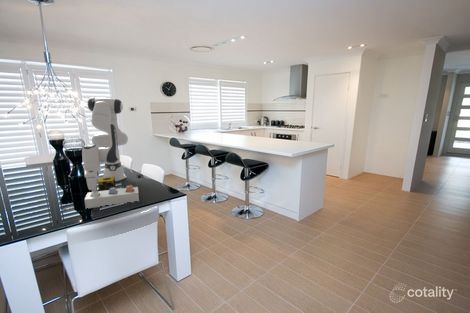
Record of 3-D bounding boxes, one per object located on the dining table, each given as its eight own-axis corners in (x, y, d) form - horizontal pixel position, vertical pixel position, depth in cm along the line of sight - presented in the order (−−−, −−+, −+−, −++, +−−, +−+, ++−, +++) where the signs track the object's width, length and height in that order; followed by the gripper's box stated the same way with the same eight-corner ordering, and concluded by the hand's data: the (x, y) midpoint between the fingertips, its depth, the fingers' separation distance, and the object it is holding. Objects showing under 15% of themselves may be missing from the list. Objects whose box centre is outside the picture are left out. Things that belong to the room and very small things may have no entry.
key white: (92, 198, 149) (91, 191, 147) (99, 197, 150) (98, 190, 149) (91, 200, 145) (90, 193, 144) (99, 199, 147) (98, 192, 145)
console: (88, 201, 152) (87, 192, 150) (138, 194, 164) (137, 186, 162) (85, 208, 141) (84, 199, 140) (139, 201, 153) (138, 192, 152)
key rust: (126, 192, 156) (126, 185, 155) (133, 191, 158) (132, 185, 157) (126, 194, 153) (126, 187, 152) (133, 194, 154) (132, 186, 153)
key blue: (110, 195, 152) (109, 187, 151) (116, 194, 154) (116, 187, 153) (109, 197, 149) (108, 190, 148) (116, 196, 150) (116, 189, 149)
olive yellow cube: (101, 190, 171) (99, 177, 169) (116, 188, 174) (114, 176, 172) (98, 195, 162) (96, 181, 159) (114, 193, 165) (113, 180, 163)
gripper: (89, 167, 151) (91, 187, 154) (83, 175, 133) (86, 198, 136) (100, 166, 154) (102, 185, 157) (96, 174, 136) (99, 196, 139)
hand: (95, 191), depth 146 cm, fingers closed, pressing on key white
